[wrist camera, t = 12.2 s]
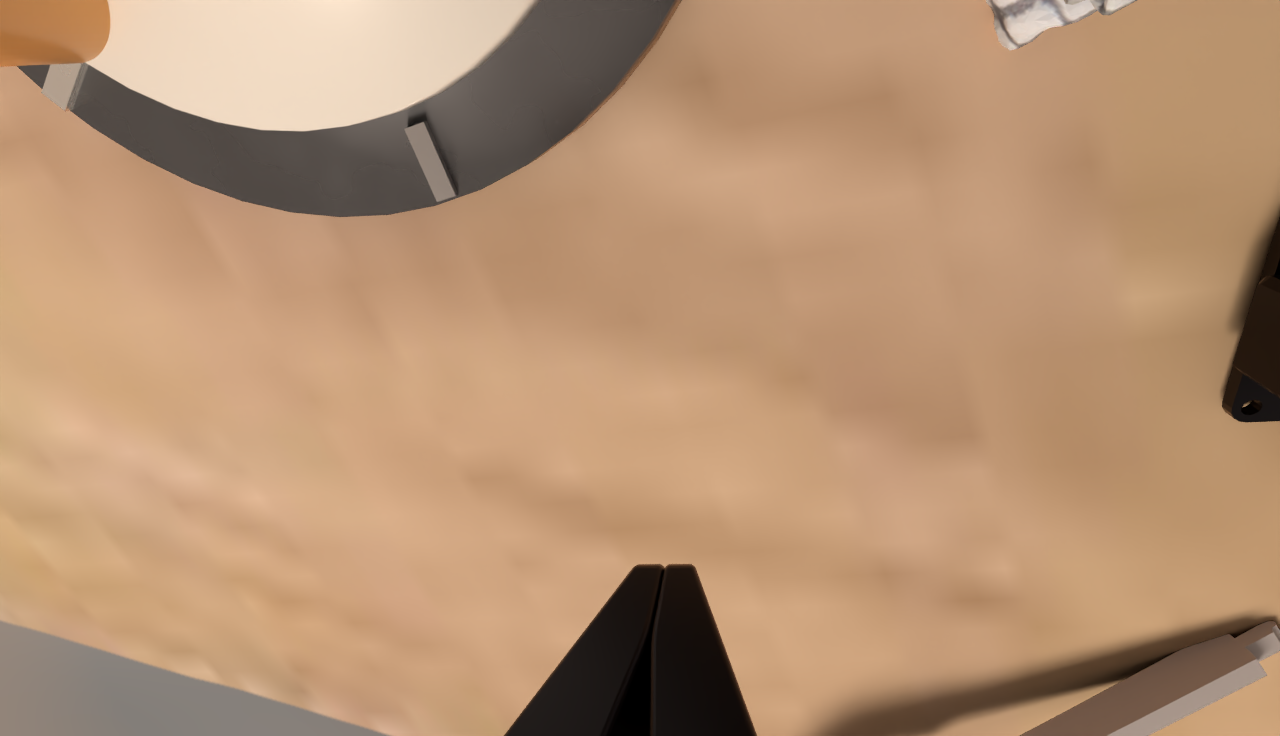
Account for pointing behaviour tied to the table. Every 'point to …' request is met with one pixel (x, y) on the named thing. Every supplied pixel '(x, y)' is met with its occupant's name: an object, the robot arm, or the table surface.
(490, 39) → the dial
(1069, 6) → the towel
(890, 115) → the table surface
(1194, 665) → the caliper
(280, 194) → the dial plate
